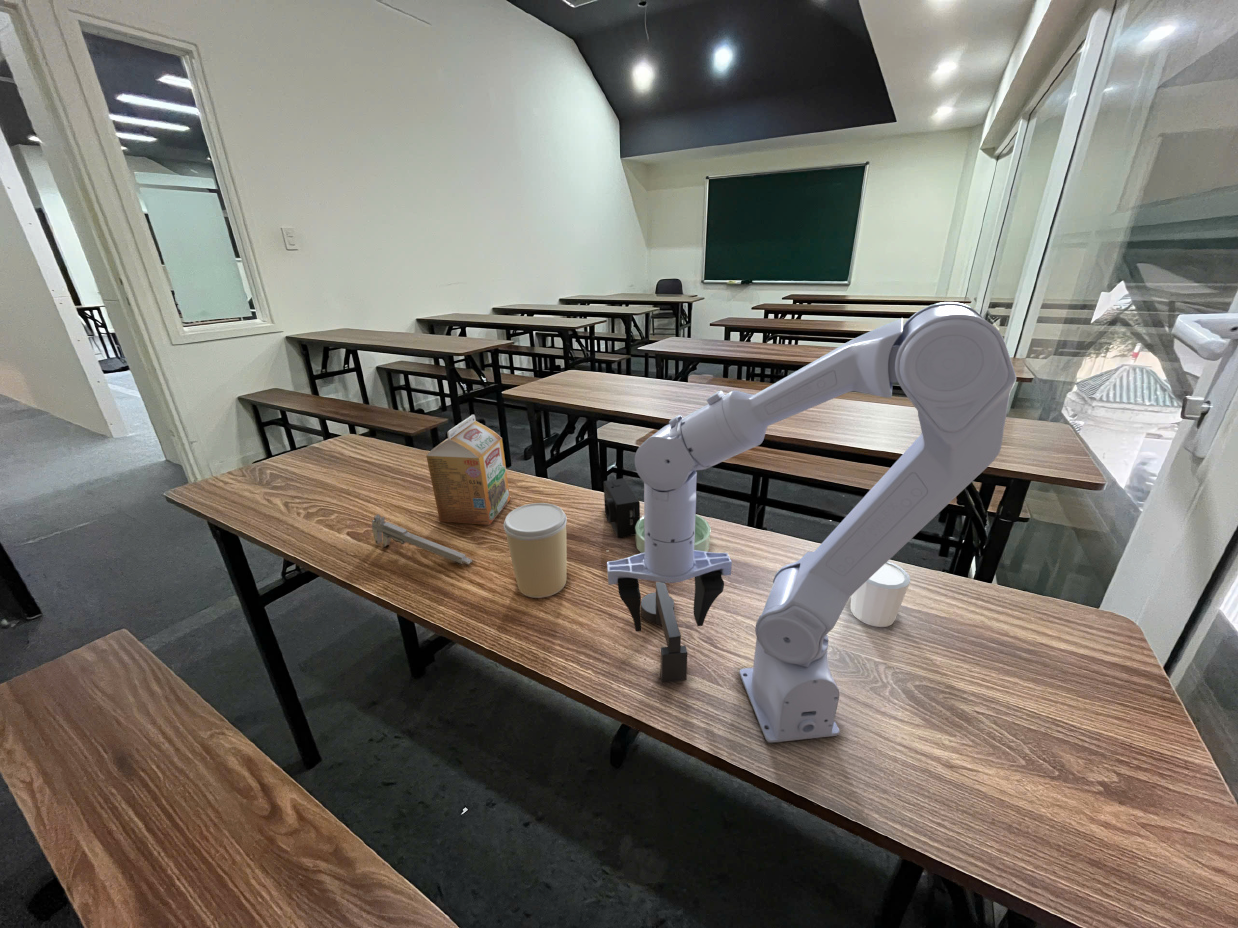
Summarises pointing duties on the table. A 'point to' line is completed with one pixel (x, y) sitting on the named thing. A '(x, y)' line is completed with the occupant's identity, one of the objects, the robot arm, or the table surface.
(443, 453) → the milk carton
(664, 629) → the grey lever handle
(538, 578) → the cream lidded canister
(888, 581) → the white round tub
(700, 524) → the bowl
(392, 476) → the table surface
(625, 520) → the digital camera
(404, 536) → the caliper
